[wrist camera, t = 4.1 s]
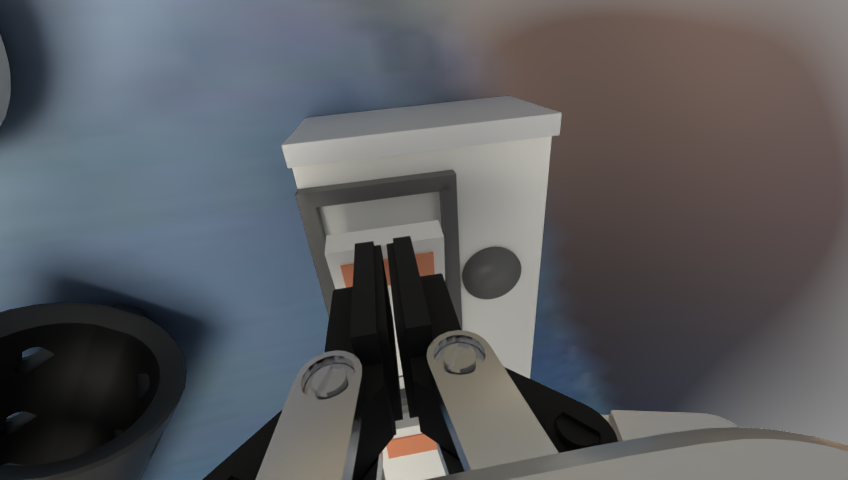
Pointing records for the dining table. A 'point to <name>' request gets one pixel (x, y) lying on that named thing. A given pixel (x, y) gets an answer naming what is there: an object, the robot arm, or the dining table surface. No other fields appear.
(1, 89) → the teacup
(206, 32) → the dining table surface
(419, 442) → the outlet rocker
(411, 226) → the outlet rocker
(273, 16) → the dining table surface
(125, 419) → the muzzle brake
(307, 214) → the white switch block
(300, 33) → the dining table surface
